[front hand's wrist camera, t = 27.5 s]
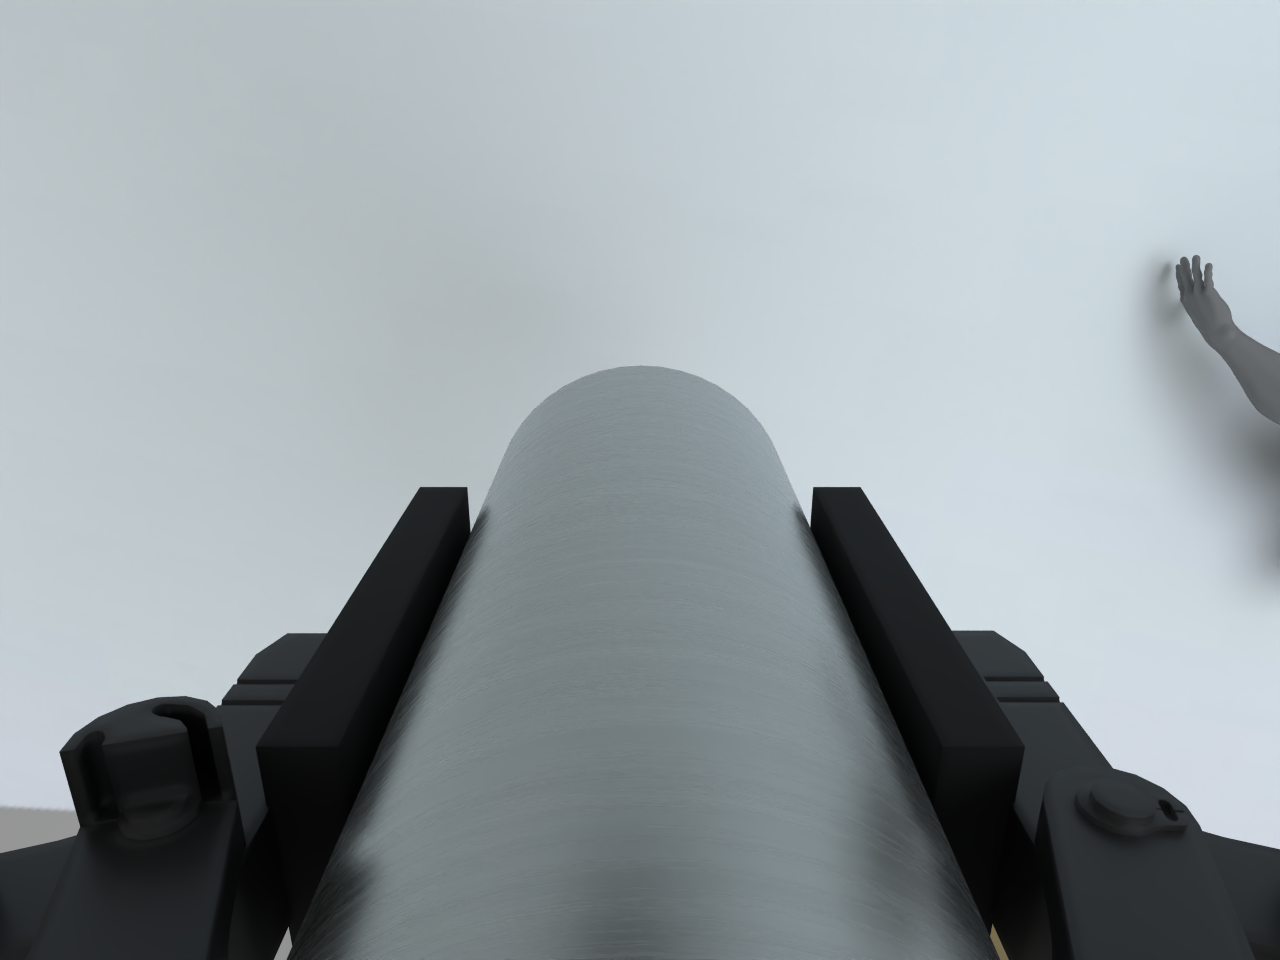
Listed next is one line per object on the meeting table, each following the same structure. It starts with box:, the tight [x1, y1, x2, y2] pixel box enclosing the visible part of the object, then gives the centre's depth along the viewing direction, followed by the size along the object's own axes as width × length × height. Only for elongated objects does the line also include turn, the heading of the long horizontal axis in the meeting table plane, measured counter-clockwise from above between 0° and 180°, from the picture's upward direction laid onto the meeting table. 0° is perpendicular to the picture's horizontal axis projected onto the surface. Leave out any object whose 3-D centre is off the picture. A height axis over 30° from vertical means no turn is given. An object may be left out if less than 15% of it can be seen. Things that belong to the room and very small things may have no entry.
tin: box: [287, 366, 1000, 960], centre depth 11 cm, size 6×6×13 cm
